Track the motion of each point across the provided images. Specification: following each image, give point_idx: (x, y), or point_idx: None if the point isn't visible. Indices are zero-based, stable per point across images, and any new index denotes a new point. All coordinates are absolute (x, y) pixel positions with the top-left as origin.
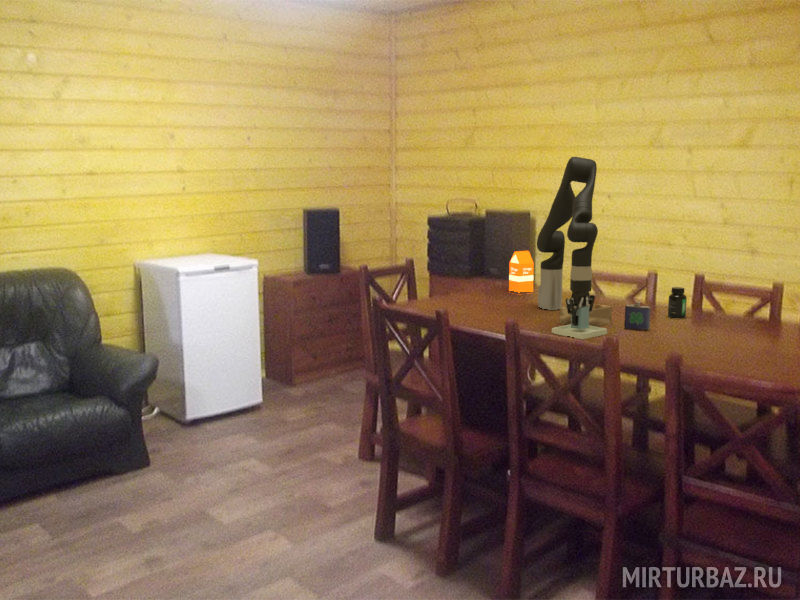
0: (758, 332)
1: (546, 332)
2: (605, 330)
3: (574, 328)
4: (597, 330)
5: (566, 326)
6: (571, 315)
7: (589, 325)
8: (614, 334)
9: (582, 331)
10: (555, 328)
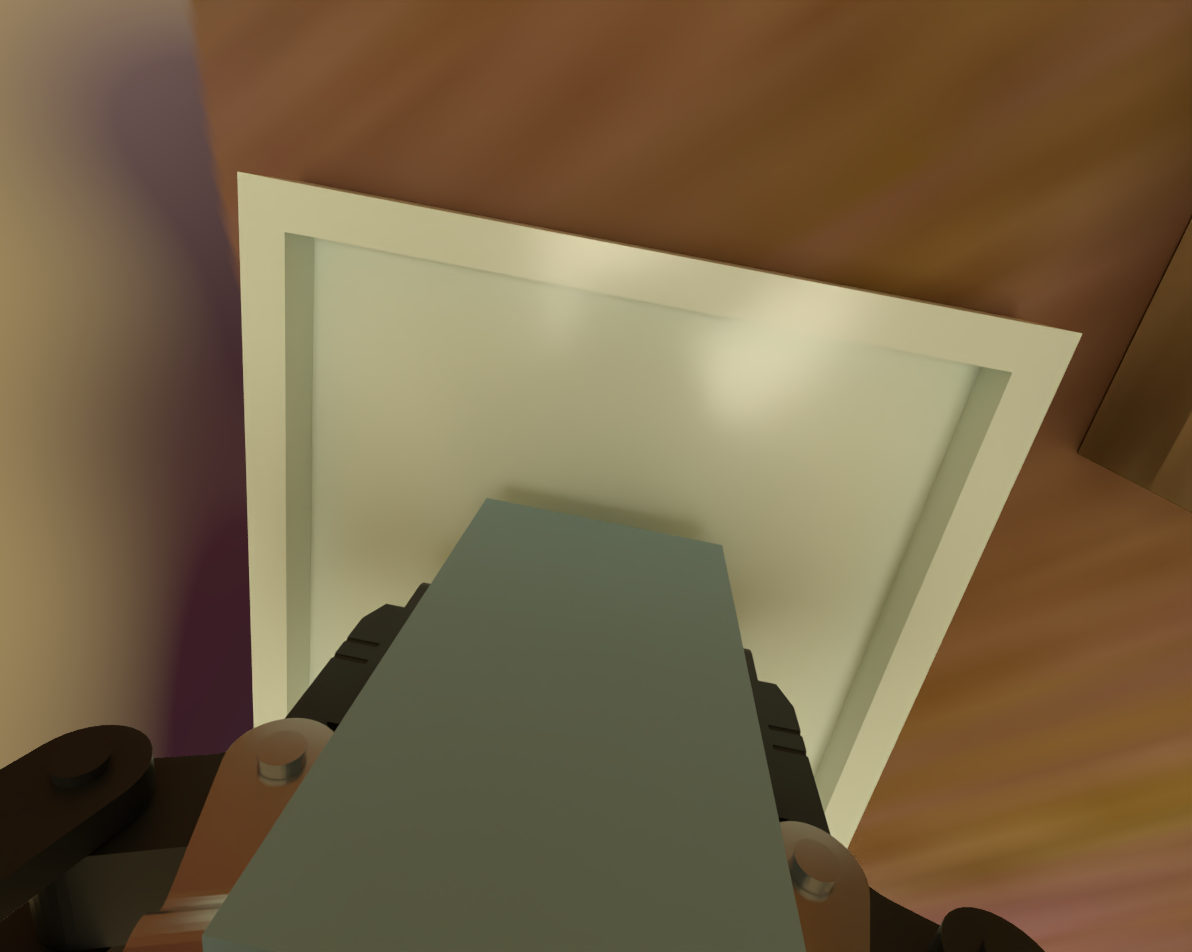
0: None
1: (288, 39)
2: None
3: (737, 426)
4: None
5: (653, 301)
6: (391, 650)
7: (936, 640)
8: None
9: None
10: (249, 270)
